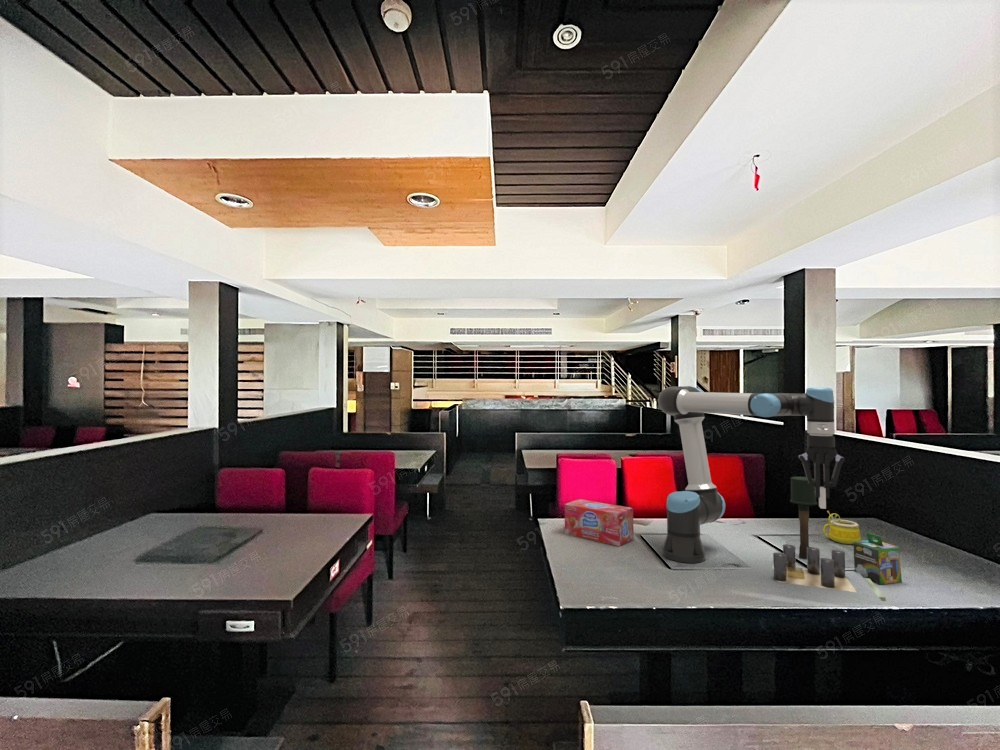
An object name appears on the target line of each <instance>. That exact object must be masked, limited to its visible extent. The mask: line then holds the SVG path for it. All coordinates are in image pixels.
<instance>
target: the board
mask: <svg viewBox="0 0 1000 750" xmlns="http://www.w3.org/2000/svg"><path fill="white" fill-rule="evenodd" d="M771 566H772V569H773V571H774V565H773V564H772V565H771ZM802 569H803V571H804V576H805V579H799V578H791V577H788V575H787V571H786V576H787V581H785V582H782V581H777V580H776V581H777V583H784V584H789V585H798V586H806V587H814V588H821V589H826V590H827V589H828V590H836V591H843V592H851V593H855V594H856V593H858V592H857V591H856V589H855V587H854V586H853V584H851V582H850V580H849V579H848V577H847V576H846V575H845V578H838V577H835V588H827V587H824V586H822V585H821V570H820V574H819V575H814V574H810V573H808V572H807V569H806V568H802ZM863 580H864V581H865V582H866V583H867V584H868V586H869V587H870V588H871V590H872V591H873V592H874V593H875V594H876V596H877V597H878V599H880V601H884V602H886V601H887V600H886V596H885V595H884V593H882V591H881V590H880V589H879V588H878V587H877V586H876V583H874V582H872V581H871V580H870V579H869V578H863Z"/></svg>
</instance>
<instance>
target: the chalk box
mask: <svg viewBox="0 0 1000 750" xmlns="http://www.w3.org/2000/svg"><path fill="white" fill-rule="evenodd" d="M866 536H867V537H866V538H867V539H864V540H863V539H862V540H861V541H856V542H853V544H852V547H853V562H854V566H853V567H854V572H855V573H858V574H859V575H860V576H861V577H862V578H863V579H864V578H869V579H870V580H871V581H872V582H873V583H874V584H875V585H879V586H881V585H883V586H884V585H888V584H889V585H890V584H897V583H902V582H903V581H902V566H901V565H902V564H901V552H900V551H901V548H900V546H897V545H894V544H891V543H888V542H884V541H882V537H881V535H878V534H874V533H871V532H866ZM873 538H874V539H873Z"/></svg>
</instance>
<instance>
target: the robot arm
mask: <svg viewBox="0 0 1000 750" xmlns="http://www.w3.org/2000/svg"><path fill="white" fill-rule="evenodd" d="M834 399H835V397H834V390H833V389H832V388H831V387H807V388H806V390H805V392H804V393H788V392H787V393H786V392H785V393H784V392H778V393H769V392H768V393H763V392H762V393H754V392H753V393H752V392H748V393H747V392H711V391H710V392H708V391H705V392H704V391H703V390H701V389H700V388H698V387H695V386H692V385H691V386H690V385H687V386H686V385H685V386H682V385H681V386H676V385H675V386H669V387H665V388H664V389H663V390H661V392H660V393H659V395H658V399H657V402H658V403H657V405H658V407H659V408H660V410H661V411H662V412H663V413H664V414H666V415H669V416H673V419H674V422H675V423H676V424H677V425H678V426H679V427H678V428H679V433H680V434H679V435H680V439H681V444H682V452H683V458H684V463H685V464H684V465H685V470H686V477H687V483H688V484H687V485H686V487H685V489H684V490H682V491H678V490H677V491H673V492H671V493H669V494H668V496H667V498H666V504H665V505H666V528H667V529H666V532H667V534H666V536H665V539H664V544H663V546H662V556H663V555H664V556H665V557H664V556H663V557H664V558H666V557H667V558H666V559H668V558H669V560H670V559H671V560H670V561H674V560H675V561H674V562H678V563H684V562H685V563H686V564H696V563H702V562H704V561H706V559H707V558H706V557H707V556H706V550H705V547H704V544H703V541H702V539H701V525H705V524H709V523H714V522H716V521H718V520H720V519H721V518H722V517H723V516H724V513H725V511H726V502H725V499H724V497H723V496H722V495H721V494H720V493H719V492H718V488H717V486H716V484H714V483H713V482H712V477H711V472H710V471H711V469H710V466H709V460H708V453H707V448H706V447H707V446H706V442H705V441H706V440H705V436H704V430H703V429H704V428H703V425H702V424H703V423H702V422H703V421H704V419H705V418H706V417H705V414H720V415H736V416H737V415H739V416H756V417H762V418H771V417H783V416H793V417H795V416H797V417H800V416H802V417H806V433H807V436H806V437H807V439H806V440H807V443H806V444H807V445H806V446H807V448H806V450H805V452H804V453H802V454H799V455H798V459H799V460H800V461H801V463H802V466H803V470H804V473H805V477H807V481H808V483H809V484H810V485H812V486H814V487H815V496H816V498H818V507H819V508H820V509H823V510H824V509H825V510H826V509H827V499H829V498H830V495H831V494H830V492H831V491H830V489H831V488H835V487H836V486H837V484H838V481H839V477H840V472H841V469H842V465H843V464H844V463H845V462H846V458H845V457H843V456H841V455H840V454H838V452H837V450H836V440H835V439H836V437H835V436H834V435H835V434H836V433H835V400H834ZM808 457H809V458H810V460H811V461H812V463H813V477H814V478H813V477H812V473H811V469H810V467H809V463H808V459H809V458H808ZM833 460H835V464H834V467H833V471H832V475H831V479H830V463H832V462H833ZM821 464H822V466H823V468H822V469H823V486H821ZM812 478H813V479H814V482H813V480H812Z"/></svg>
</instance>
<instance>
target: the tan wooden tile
mask: <svg viewBox="0 0 1000 750" xmlns="http://www.w3.org/2000/svg"><path fill="white" fill-rule="evenodd" d="M803 569H804V568H803V567H802V568H801V567H796V568H795V567H787V575H788V577H791V578H799V579H805V576H804V571H803Z"/></svg>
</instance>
